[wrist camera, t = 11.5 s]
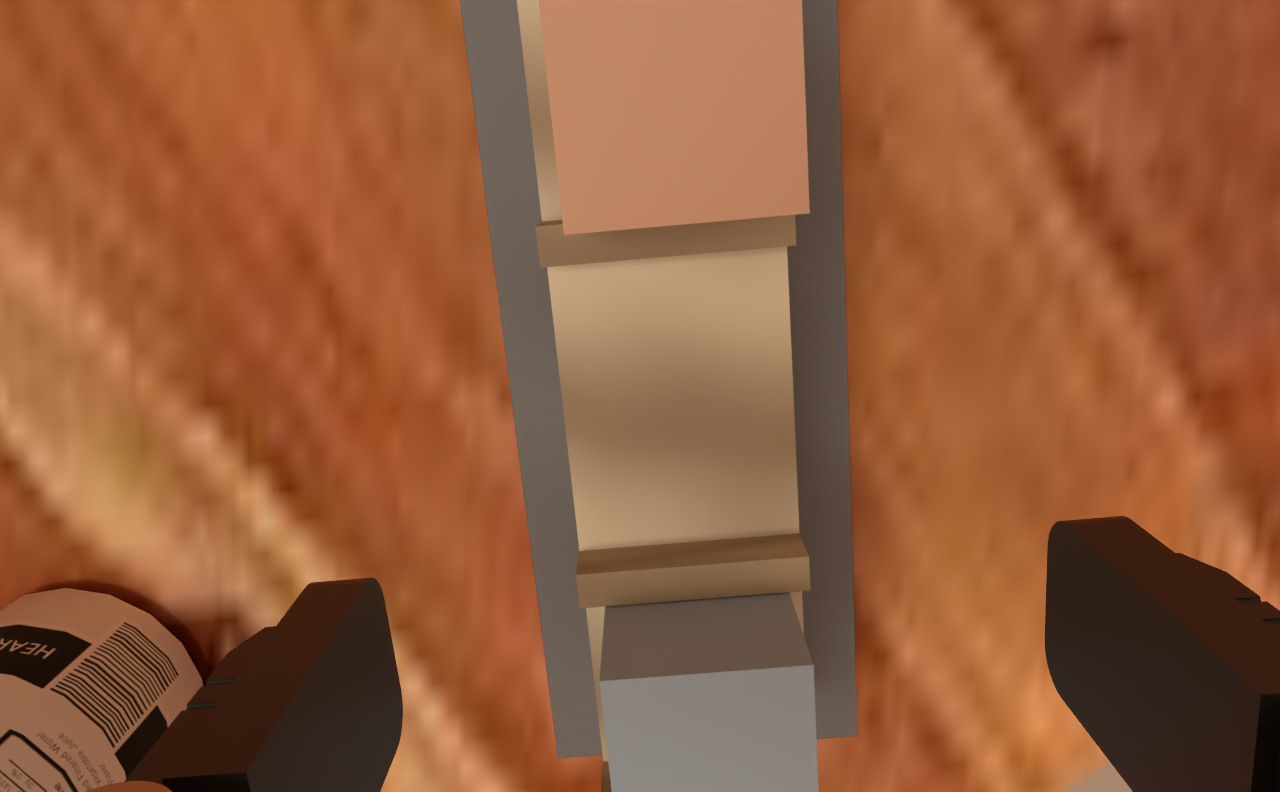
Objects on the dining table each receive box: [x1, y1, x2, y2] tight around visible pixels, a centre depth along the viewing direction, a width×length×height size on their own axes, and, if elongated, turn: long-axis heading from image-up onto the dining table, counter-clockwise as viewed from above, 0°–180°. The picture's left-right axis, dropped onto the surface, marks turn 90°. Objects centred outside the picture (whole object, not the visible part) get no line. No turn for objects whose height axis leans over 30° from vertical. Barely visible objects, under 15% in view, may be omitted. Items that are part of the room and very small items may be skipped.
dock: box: [460, 0, 858, 758], centre depth 26 cm, size 24×9×4 cm, turn 5°
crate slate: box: [599, 592, 819, 792], centre depth 19 cm, size 4×4×4 cm
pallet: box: [517, 0, 810, 792], centre depth 21 cm, size 20×5×6 cm, turn 5°
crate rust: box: [539, 0, 810, 235], centre depth 16 cm, size 4×4×4 cm
